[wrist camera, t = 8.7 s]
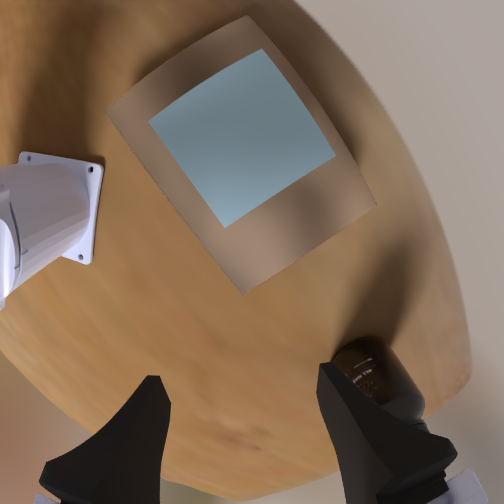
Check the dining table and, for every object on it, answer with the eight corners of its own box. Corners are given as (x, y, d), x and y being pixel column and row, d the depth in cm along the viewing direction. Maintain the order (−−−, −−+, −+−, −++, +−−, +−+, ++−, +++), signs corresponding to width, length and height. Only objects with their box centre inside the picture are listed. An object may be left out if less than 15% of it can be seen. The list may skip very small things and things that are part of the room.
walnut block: (240, 269, 20) (242, 295, 17) (128, 118, 16) (104, 111, 12) (352, 195, 19) (377, 204, 15) (245, 39, 15) (247, 14, 11)
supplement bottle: (337, 335, 23) (390, 440, 12) (396, 332, 24) (459, 415, 13) (319, 386, 25) (352, 482, 14) (374, 380, 26) (417, 461, 15)
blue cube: (228, 205, 15) (224, 228, 10) (175, 132, 13) (147, 121, 9) (304, 155, 14) (336, 155, 9) (253, 82, 13) (261, 48, 8)
